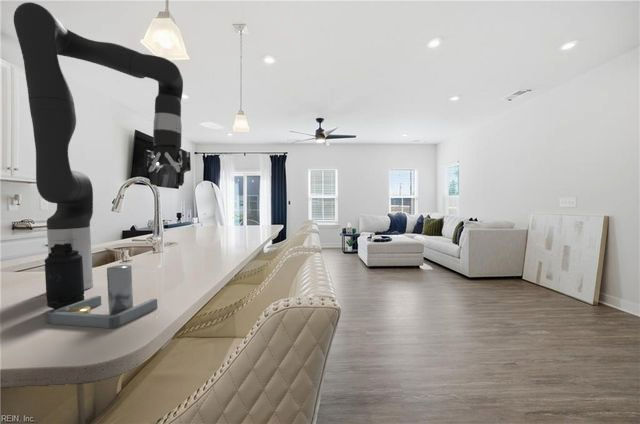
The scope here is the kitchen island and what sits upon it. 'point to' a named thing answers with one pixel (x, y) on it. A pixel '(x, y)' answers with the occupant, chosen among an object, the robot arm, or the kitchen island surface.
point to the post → (119, 288)
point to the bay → (97, 319)
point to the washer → (80, 310)
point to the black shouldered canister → (64, 276)
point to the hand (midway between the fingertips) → (166, 185)
